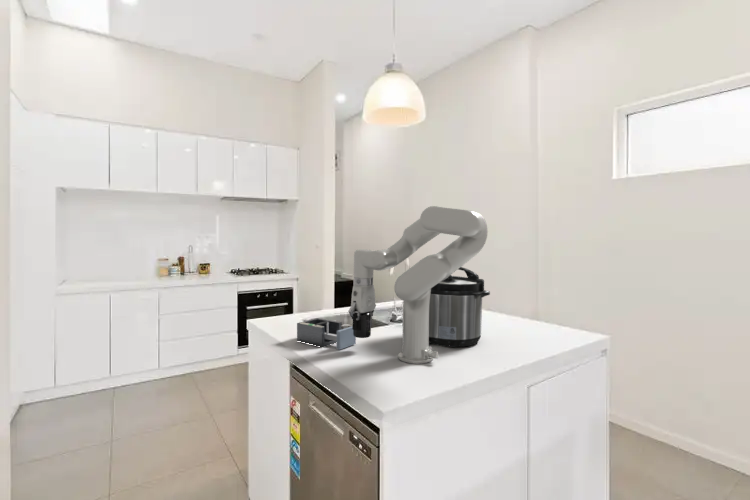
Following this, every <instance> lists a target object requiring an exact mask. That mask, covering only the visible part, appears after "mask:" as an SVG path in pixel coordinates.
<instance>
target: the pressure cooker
mask: <svg viewBox="0 0 750 500" xmlns="http://www.w3.org/2000/svg"><path fill="white" fill-rule="evenodd" d="M458 270H459V271H463V272H464V273H465V274H466V277H465V276H459V275H452V274H451V275H450V276H449V277H448V278H447V279H445V280H443V281H441V282H439V283H438V284H436V285H435V286H434V287H432V288H431V294H430V303H429V344H432V345H435V346H437V345H438V346H441V347H451V348H452V347H453V348H454V347H469V346H472V345H473V346H474V345H475V344H477V343H478V342H479V341H480V339H481V338H482V337H481V336H482V321H483V320H482V317H483V315H482V313H483V298H485V297H487V296H490V295H491V291H489V290H485V280H484V279H483V278H480V277H479V274H477V273H476V272H475V271H473V270H470V269H468V268H465V267H463V266H462V267H460V268H459V269H458ZM458 270H457V271H458Z"/></svg>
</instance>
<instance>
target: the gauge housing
mask: <svg viewBox="0 0 750 500" xmlns="http://www.w3.org/2000/svg"><path fill="white" fill-rule="evenodd" d="M325 321H328V322H329V333H330V334H335V335H337V331H338V330H341V329H343V326H342V323H343V322H342V321H338V320H337V321H336V320H331V319H323V318H320V317H316V318H311V319H307V320H304V321H303V320H302V321H299V322H297V323H296V342H297V341H301V342H305V343H309V344H313V345H316V346H320V347H323V348H325V347H324V346H326V347H328V346H327V345H329V346H331V345H330V344H332V345H334V344H333V343H335V344H337V343H336V342H337V341H333V340H328V339H325V333H326V323H324V324H320V325H316V326H315V324H318V323H321V322H325ZM316 346H315V347H316ZM320 347H319V348H320Z"/></svg>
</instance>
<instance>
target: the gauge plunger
mask: <svg viewBox="0 0 750 500" xmlns="http://www.w3.org/2000/svg"><path fill="white" fill-rule="evenodd" d="M324 323H326V333H325V339H328V340H333V341H337V343H336V350H339V351H340V350H343V349H345V348H348V347H351V346H353V345H355V344H356V343H357V342H356V341H357V337H355V336H354V335H353V329H352V325H351V326H348V327H344V328H342V329H341V330H338V331H337V335H335V334H330V333H329V322H328V321H325V322H321V323H318V324H315V326H316V325H320V324H324Z"/></svg>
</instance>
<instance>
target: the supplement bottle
mask: <svg viewBox="0 0 750 500" xmlns="http://www.w3.org/2000/svg"><path fill="white" fill-rule="evenodd" d="M357 311H358V310H357ZM356 315H357V313H356ZM371 317H372V316H371V313H370V312H366V313H361V315H360V318H359V320H360V330H359V331H357V330H353V335H354V336H355V337H356V339H357V338H359V339H365V338H366V339H367V338H369V337H371V336H372V335H371V334H372V327H371Z"/></svg>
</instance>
